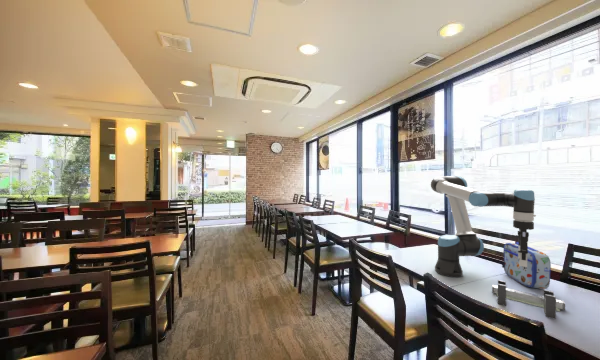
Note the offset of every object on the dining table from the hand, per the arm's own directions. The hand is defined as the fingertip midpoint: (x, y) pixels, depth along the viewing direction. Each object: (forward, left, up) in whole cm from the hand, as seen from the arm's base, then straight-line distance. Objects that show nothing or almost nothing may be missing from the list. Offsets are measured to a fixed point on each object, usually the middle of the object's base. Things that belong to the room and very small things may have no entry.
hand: (522, 262), depth 118 cm
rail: (+1, -2, -18) cm, 18 cm away
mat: (+1, -2, -18) cm, 18 cm away
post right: (+8, -12, -18) cm, 23 cm away
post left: (-8, -12, -18) cm, 23 cm away
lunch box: (+2, +27, -18) cm, 33 cm away
